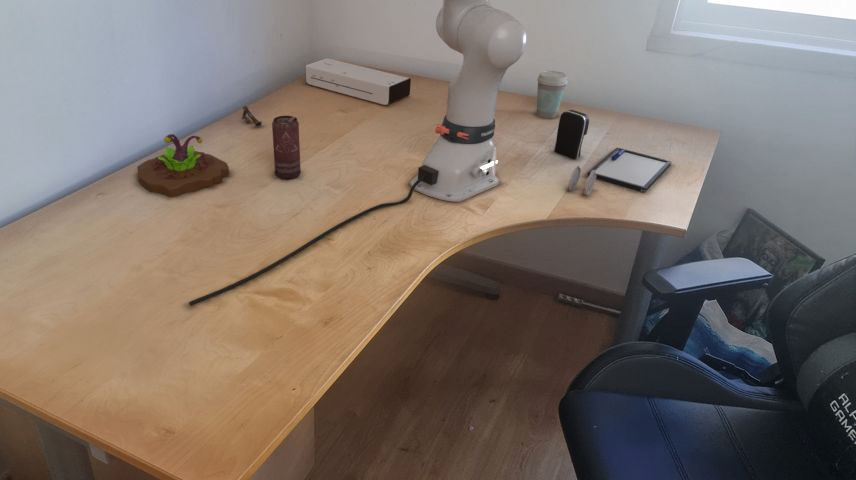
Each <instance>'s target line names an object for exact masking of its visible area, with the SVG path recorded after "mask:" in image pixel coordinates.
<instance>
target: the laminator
mask: <svg viewBox="0 0 856 480" xmlns="http://www.w3.org/2000/svg"><path fill="white" fill-rule="evenodd" d="M304 80H305V83H306V85H308V86H310V87H315V88H318V89H322V90H326V91H328V92H332V93H335V94H339V95H343V96H346V97H347V96H348V97H352V98H355V99H358V100H362V101H365V102H369V103H373V104H376V105H381V106H384V107H387V106H389V105H391V104H393V103H396V102H397V101H400V100H402V99H404V98H406V97H407V98H408V97H410V95H411V86H412V85H411V84H412V83H411V81H412V79H411V78H410V77H407V76H402V75H399V74H394V73H391V72H386V71H382V70H378V69H373V68H369V67H366V66H361V65H357V64H353V63H348V62H343V61H341V60H336V59H332V58H328V57H326V58H323V59H320V60H316V61H314V62H310V63H307V64H305V65H304Z"/></svg>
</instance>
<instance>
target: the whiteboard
mask: <svg viewBox="0 0 856 480" xmlns="http://www.w3.org/2000/svg"><path fill="white" fill-rule="evenodd" d="M671 164H672V160H668V159H665V158H661V157H657V156H653V155H649V154H644V153H641V152H637V151H633V150H629V149H625V148H621V147H615V148H614V149H613V150H612V151H611V152H610V153H608V154H607V155H606V156H605V157H604V158H603V159H602V160H600V161H599V162H598V163H597V164H596V165H594V167H592V168H591V169H590V170H589V171H587V173H586V178H588V177H589V175H590V173H591V171H592V170H594V172H596V180H595V181H601V182H604V183H608V184H611V185H613V186H614V185H615V186H618V187H620V188H621V187H622V188H625V189H629V190H632V191H636V192H639V193H643V194H645V193H646V192H647V191H648V190H649V189H650V188H651V187H652V186H653V185H654V184H655V183H656V182H657V180H659V178H660V177H661V176H662V175H663V174H664V173H665V172H666V171H667V170H668V169H669V168H670V167H671Z"/></svg>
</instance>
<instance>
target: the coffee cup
mask: <svg viewBox="0 0 856 480" xmlns="http://www.w3.org/2000/svg"><path fill="white" fill-rule="evenodd" d="M536 81H537V93H536V113H535V114H536V116H537V117H539V118H543V119H554V118H556V117H557V115H558V112H559V109H560V105H561V103H562V99H563V96H564V92H565V89H566V86H567V85H568V84H569V83H568V81H569V80H568V75H567V74H566V73H564V72H562V71H557V70H543V71H541V72H540V73H539V75H538V77H537V79H536Z"/></svg>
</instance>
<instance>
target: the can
mask: <svg viewBox="0 0 856 480" xmlns="http://www.w3.org/2000/svg"><path fill="white" fill-rule="evenodd" d="M271 128H272V144H273V160H274V161H273V162H274V174H275V176H276V177H277V179H279V180H284V181H291V180H295V179H297V178H299V177H300V175H301V173H302V171H301V150H300V149H301V146H300V126H299V121H298V118H297V117H296V116H293V115H279V116H276V117H274V118H273V120H272V123H271Z"/></svg>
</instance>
